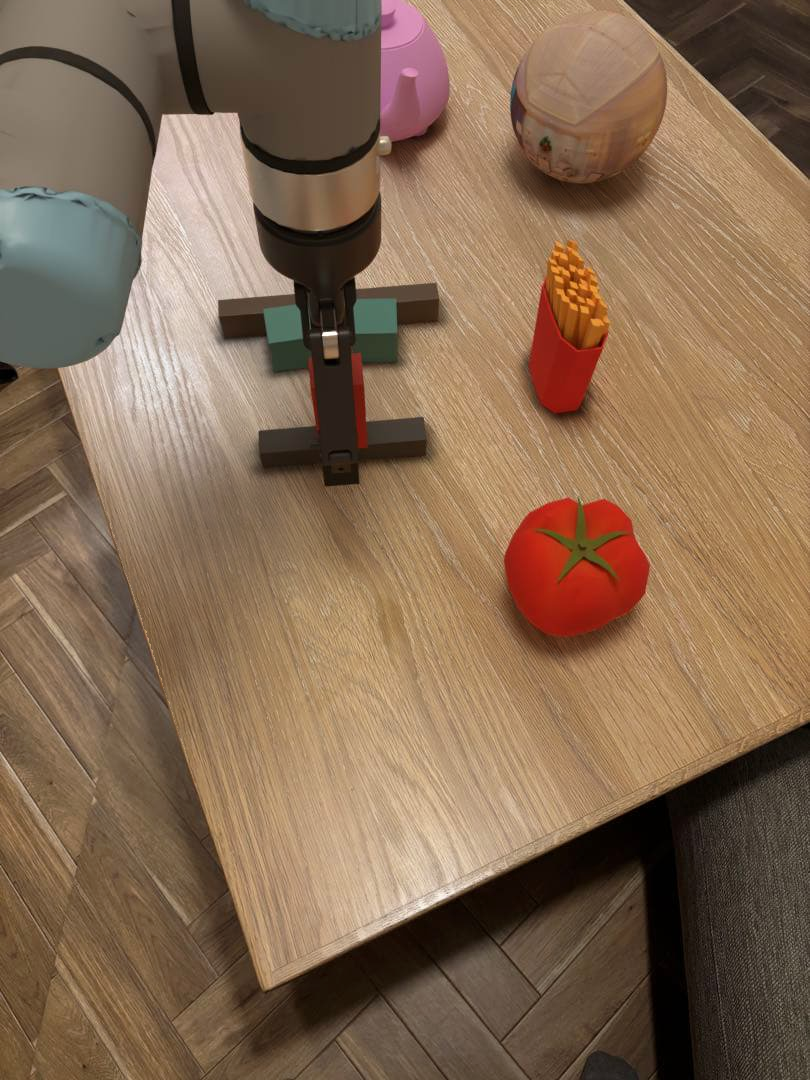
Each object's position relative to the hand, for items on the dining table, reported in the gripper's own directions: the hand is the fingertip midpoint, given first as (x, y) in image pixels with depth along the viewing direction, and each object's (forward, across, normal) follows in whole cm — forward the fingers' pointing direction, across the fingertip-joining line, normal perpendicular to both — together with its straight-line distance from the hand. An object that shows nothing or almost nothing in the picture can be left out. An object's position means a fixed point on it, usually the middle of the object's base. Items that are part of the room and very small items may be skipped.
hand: (334, 408), depth 69 cm
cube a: (+6, +11, +3) cm, 13 cm away
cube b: (+6, +11, -4) cm, 13 cm away
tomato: (+6, -15, -17) cm, 24 cm away
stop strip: (+6, +14, 0) cm, 16 cm away
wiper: (+6, 0, 0) cm, 6 cm away
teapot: (+6, +42, -8) cm, 43 cm away
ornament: (+6, +33, -27) cm, 43 cm away
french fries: (+6, +6, -20) cm, 22 cm away
